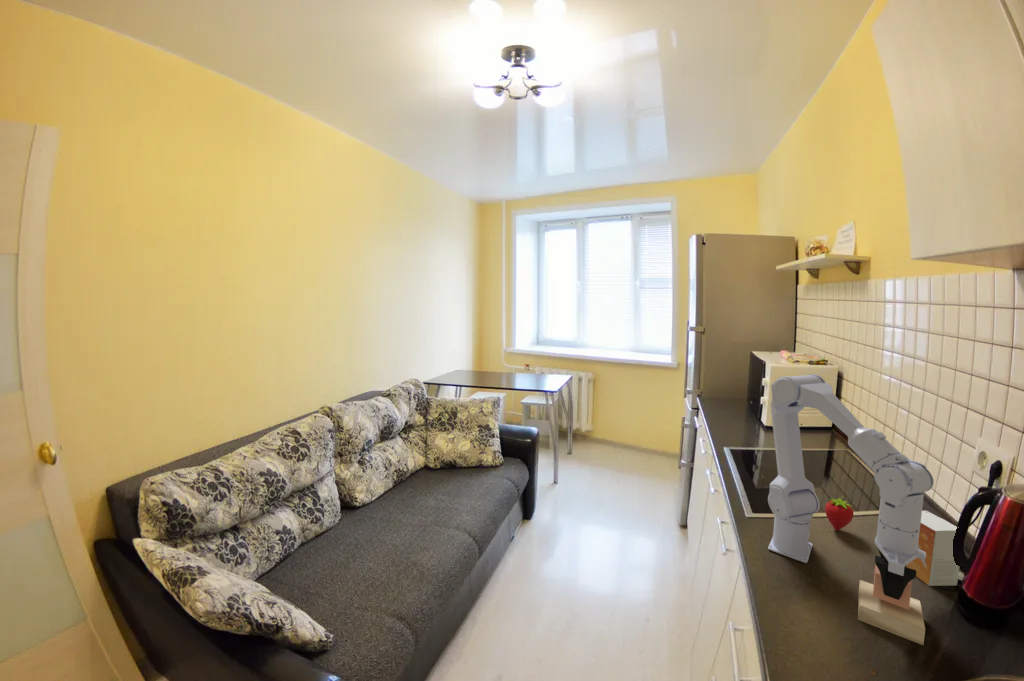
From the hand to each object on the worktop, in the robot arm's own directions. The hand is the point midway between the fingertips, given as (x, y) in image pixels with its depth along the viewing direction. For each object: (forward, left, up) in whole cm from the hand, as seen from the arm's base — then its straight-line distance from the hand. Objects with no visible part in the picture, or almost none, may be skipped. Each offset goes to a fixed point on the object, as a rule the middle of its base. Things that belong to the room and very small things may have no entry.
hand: (891, 588), depth 78 cm
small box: (-22, +6, -6) cm, 24 cm away
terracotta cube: (0, 0, -2) cm, 2 cm away
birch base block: (0, 0, -6) cm, 6 cm away
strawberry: (-30, -10, -6) cm, 32 cm away
